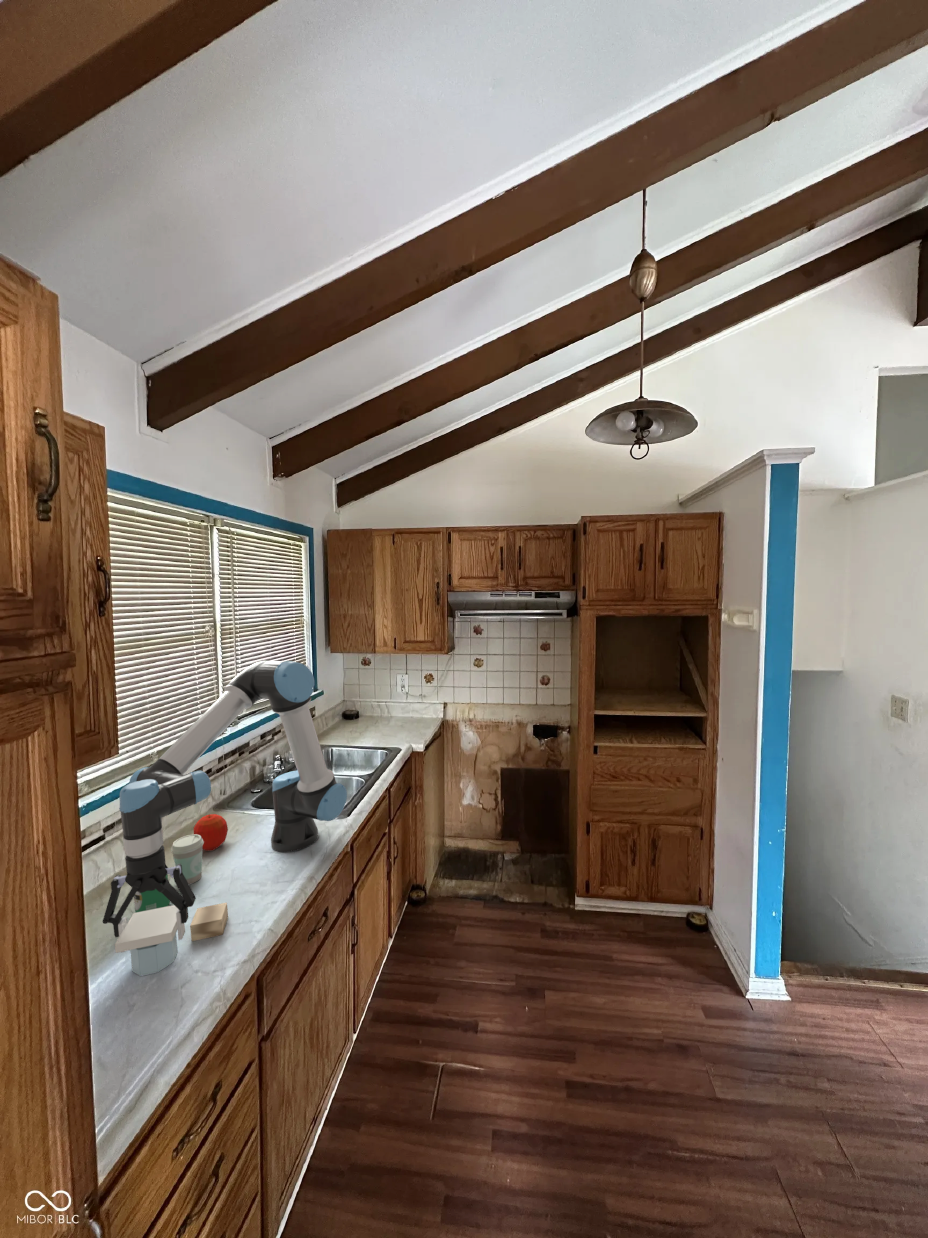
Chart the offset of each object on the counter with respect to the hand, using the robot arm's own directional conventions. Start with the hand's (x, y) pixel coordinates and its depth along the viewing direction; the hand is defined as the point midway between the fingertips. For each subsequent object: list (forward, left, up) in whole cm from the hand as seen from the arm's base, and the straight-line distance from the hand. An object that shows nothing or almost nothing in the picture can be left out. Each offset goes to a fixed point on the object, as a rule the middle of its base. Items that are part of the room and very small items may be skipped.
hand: (153, 942), depth 115 cm
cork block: (-10, -8, -5) cm, 14 cm away
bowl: (0, 0, -5) cm, 5 cm away
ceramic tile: (0, 0, +3) cm, 3 cm away
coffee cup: (+1, -35, -5) cm, 35 cm away
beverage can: (+7, -22, -5) cm, 24 cm away
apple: (-1, -54, -5) cm, 54 cm away
